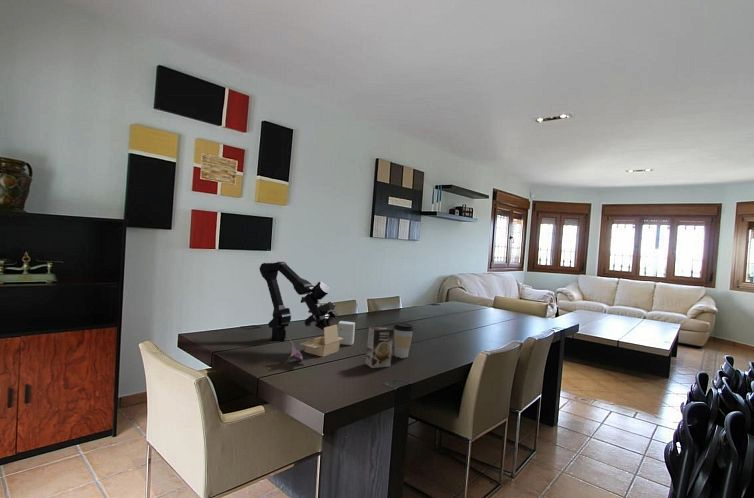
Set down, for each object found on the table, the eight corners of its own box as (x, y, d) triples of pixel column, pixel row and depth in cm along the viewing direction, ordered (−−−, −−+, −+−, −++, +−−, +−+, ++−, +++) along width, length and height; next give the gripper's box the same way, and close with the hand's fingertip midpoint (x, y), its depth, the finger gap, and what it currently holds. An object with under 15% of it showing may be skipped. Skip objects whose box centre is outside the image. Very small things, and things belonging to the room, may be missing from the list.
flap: (323, 327, 177) (324, 327, 177) (336, 324, 185) (337, 324, 185) (324, 344, 176) (325, 344, 176) (337, 340, 185) (338, 340, 185)
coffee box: (371, 368, 165) (375, 329, 165) (365, 363, 171) (368, 326, 170) (390, 366, 169) (394, 329, 169) (383, 362, 175) (386, 325, 175)
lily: (299, 372, 156) (311, 350, 158) (273, 358, 156) (286, 336, 159) (302, 372, 167) (314, 351, 170) (278, 358, 168) (290, 338, 170)
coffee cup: (414, 356, 188) (416, 324, 188) (407, 360, 180) (409, 328, 179) (395, 352, 192) (398, 321, 192) (387, 356, 184) (390, 324, 183)
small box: (353, 342, 203) (355, 322, 203) (352, 345, 197) (353, 324, 197) (338, 341, 204) (340, 320, 203) (336, 343, 198) (338, 322, 198)
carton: (296, 353, 176) (297, 342, 176) (326, 344, 196) (327, 334, 195) (315, 359, 171) (316, 347, 171) (345, 348, 190) (345, 338, 190)
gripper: (312, 297, 175) (330, 327, 170) (337, 294, 191) (353, 321, 186) (296, 311, 179) (313, 341, 174) (322, 306, 195) (337, 334, 190)
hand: (330, 334), depth 181 cm, fingers closed, pressing on flap
